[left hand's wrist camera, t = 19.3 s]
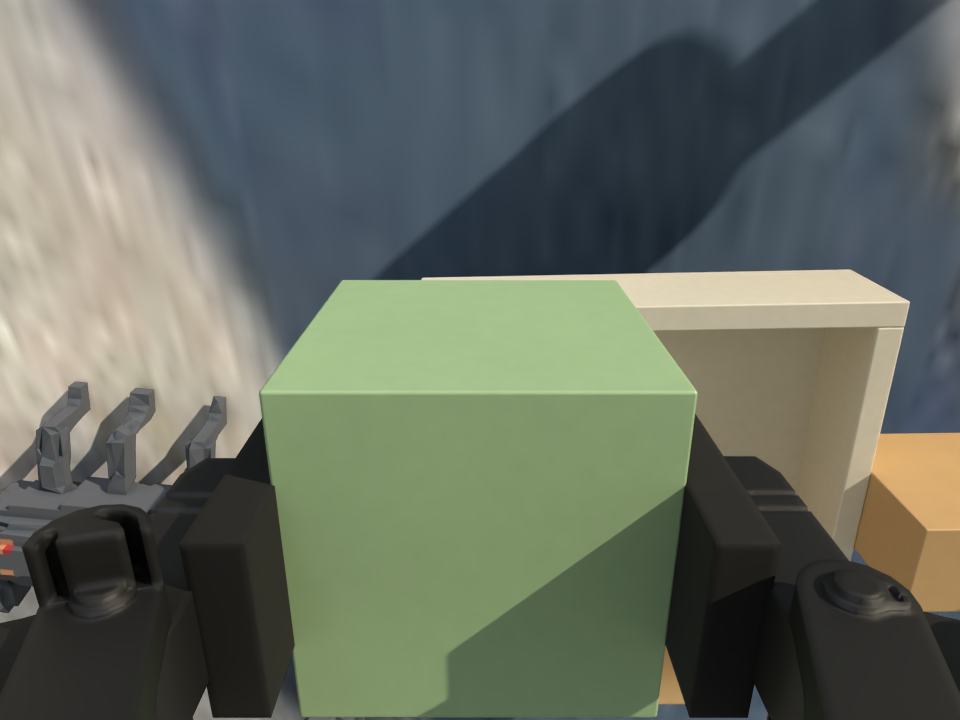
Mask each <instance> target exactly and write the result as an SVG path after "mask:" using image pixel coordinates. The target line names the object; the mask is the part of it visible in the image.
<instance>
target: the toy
mask: <svg viewBox="0 0 960 720" xmlns="http://www.w3.org/2000/svg"><path fill="white" fill-rule="evenodd" d="M89 410H90V402H89V393H88V385H87V383H84V382H74V383H73V384H71V385H70V386H69V387H68V404H67V406H66V407H65V408H64V409H62V410H61V411H60V412H59V413H58V414H56V415H55V416H54V417H53V418H52V419H51V420H49V421H48V422H47V423H46V424H45V425H43V426H42V427H41V428H39V429H38V430H36V451H37V465H38V478H39V480H35V481H34V482H30V481H23V480H21V481H17V482H13V483H11V484H10V485H9V486H7V487H6V488H5V489H4V490H3V491H2V492H0V612H4V613H9V612H10V610H11V609H12V608H13V607H14V606H19V604H20V603H21V601H22V600H23V598H24V597H25V595H26V594H27V593H28V591H29V590H30V588H31V586H33V583H32V580H31V577H30V573H29V570H28V567H27V563H26V560H25V557H24V553H23V550H22V546H23V545H24V544H25V542H26V541H27V540H28V539H29V538H30V537H31V536H32V534H33V533H34V532H36V531H37V530H39V529H41V528H42V527H44V526H45V525H47V524H48V523H50V522H51V521H53V520H55V519H57V518H60V517H62V516H65V515H67V514H70V513H72V512H74V511H77V510H81V509H86V508H90V507H94V506H99V505H112V504H125V505H130V506H135V507H139V508H141V509H142V510H144V511H145V512H146V513H147V514H149V515H150V514H153V512H154V508H155V507H156V506H157V504H158V503H159V502H160V501H161V499H162V498H165V497H166V493H167V492H168V490H169V489H170V488H171V485H164V484H157V483H156V484H153V485H151V486H149V485H145V484H141V483H136V482H134V481H135V478H136V434H137V433H138V432H139V430H140V429H141V428H142V427H143V426H144V425H145V424H147V423H148V422H149V421H150V420H151V418H152V416H153V414H154V413H155V398H154V390H151V389H142V388H135V389H134V390H133V391H132V392H131V393H130V401H129V412H128V414H127V416H126V418H125V420H124V421H123V422H122V423H121V424H120V425H119V426H118V427H117V428H116V429H115V430H114V431H113V432H112V434H111V436H110V437H109V439H108V441H107V442H106V452H107V464H108V477H109V479H107V478H97V477H87V478H86V479H85V480H84V481H83V482H82V483H80V482H72V476H71V470H70V460H71V447H70V432H71V430H72V429H73V427H74V426H75V424H76V423H77V421H78V420H79V419H81V418H82V417H83V416H84V415H85V414H86V413H87V412H88V411H89ZM226 424H227V418H226V397H218V396H214V398H213V401H212V405H211V408H210V412H209V417H208V421H207V422H206V423H205V425H204V426H203V427H202V429H201V430H200V431H199V433H198V434H197V435H196V437H195V438H194V439H193V440H191V439H190V440H189V442H188V443H187V444H186V445H185V448H186V460H187V468H186V469H185V470H184V472H185V471H187V470H189V469H190V468H192V467H193V466H195V465H196V464H198V463H199V462H201V461H202V460H204V459H205V458H215V444H216V439H217V437H218V435H219V434H220V432H221V431H222V429H223V428H224V426H225V425H226ZM301 720H365V717H302V718H301Z"/></svg>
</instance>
